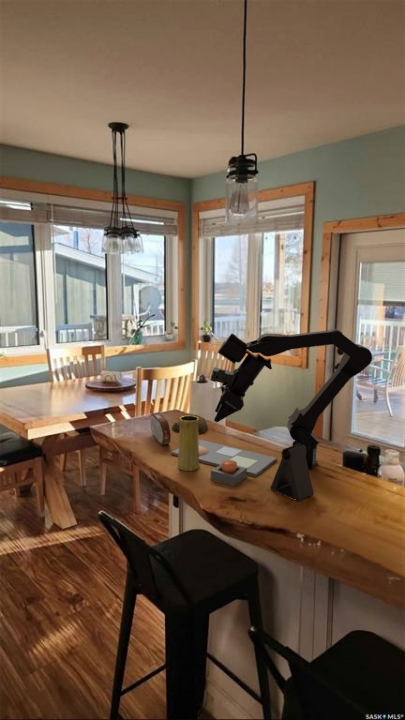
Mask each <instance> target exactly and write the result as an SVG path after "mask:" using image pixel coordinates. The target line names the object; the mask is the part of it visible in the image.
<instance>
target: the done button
mask: <svg viewBox="0 0 405 720" xmlns="http://www.w3.org/2000/svg"><path fill="white" fill-rule="evenodd" d="M236 471H237V462H235V461H233V460H224V461H222V472H226V473H235V472H236Z"/></svg>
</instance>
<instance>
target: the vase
mask: <svg viewBox="0 0 405 720" xmlns="http://www.w3.org/2000/svg"><path fill="white" fill-rule="evenodd" d="M179 420H180V430H179V431H178V432H179V435H178V448H179V453H178V456H177V458H178V459H177V468H178V469H179V470H181V471H184V472H193V471H196V470H198V469H199V468H200V462H199V443H198V439H199V433H198V430H199V419H198V417H196V416H190V415H188V416H187V415H183V416H181V417H179Z"/></svg>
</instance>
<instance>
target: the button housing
mask: <svg viewBox="0 0 405 720" xmlns="http://www.w3.org/2000/svg"><path fill="white" fill-rule="evenodd" d="M245 478H247V468H245V467H241V466H237V471H236V472H235V473H226V472H222V464H221V465H219V466H215V467H214V468H213V469H211V470H210V480H211V481H215V482H219V483H222V484H226V485H227V486H228V485H230V486H231V487H232V486H233V487H235V486H236V485H238V484H239V483H240V482H242V481H243V480H244V479H245Z"/></svg>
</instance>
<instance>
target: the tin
mask: <svg viewBox="0 0 405 720" xmlns="http://www.w3.org/2000/svg"><path fill="white" fill-rule="evenodd" d="M149 416H150V417H149V418H150V429H151V433H152V436H153V437H154V438H155V440H156V441H157V442H158V443H159V444H160V445H170V443H171V436H172V434H171V428H170V424H169V422H168V419H167V418H166V417H165V416H164V415H163V414H162V413H161V412H160V411H157V412H152V413H151V414H150V415H149Z"/></svg>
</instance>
